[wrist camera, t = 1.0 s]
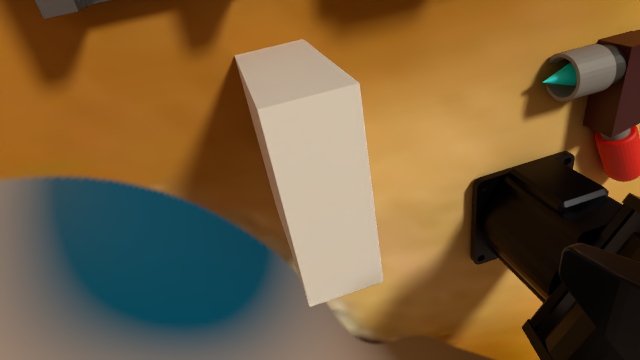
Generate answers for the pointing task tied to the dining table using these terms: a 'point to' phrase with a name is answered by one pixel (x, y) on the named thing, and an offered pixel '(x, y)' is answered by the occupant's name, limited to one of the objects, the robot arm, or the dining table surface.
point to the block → (315, 165)
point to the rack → (63, 6)
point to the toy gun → (606, 97)
